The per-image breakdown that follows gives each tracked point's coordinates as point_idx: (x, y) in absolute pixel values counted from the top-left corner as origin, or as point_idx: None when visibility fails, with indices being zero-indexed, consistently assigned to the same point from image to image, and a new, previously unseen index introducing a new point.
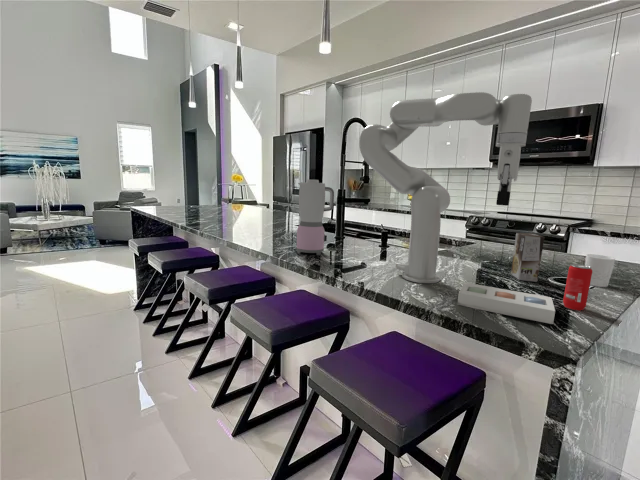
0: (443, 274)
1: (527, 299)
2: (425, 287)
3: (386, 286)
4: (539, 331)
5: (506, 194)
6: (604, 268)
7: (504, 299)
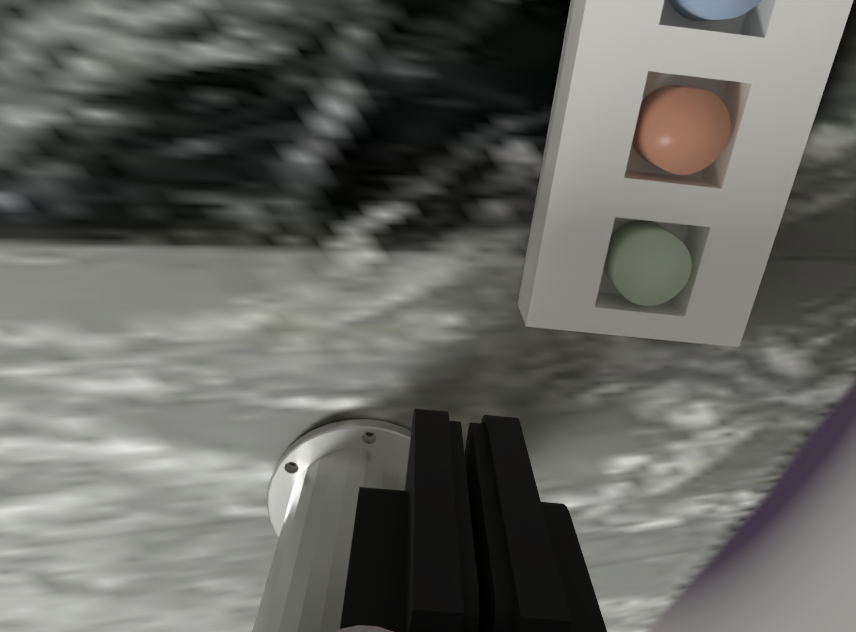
0: (194, 410)
1: (740, 15)
2: None
3: None
4: None
5: (598, 624)
6: None
7: (769, 140)
